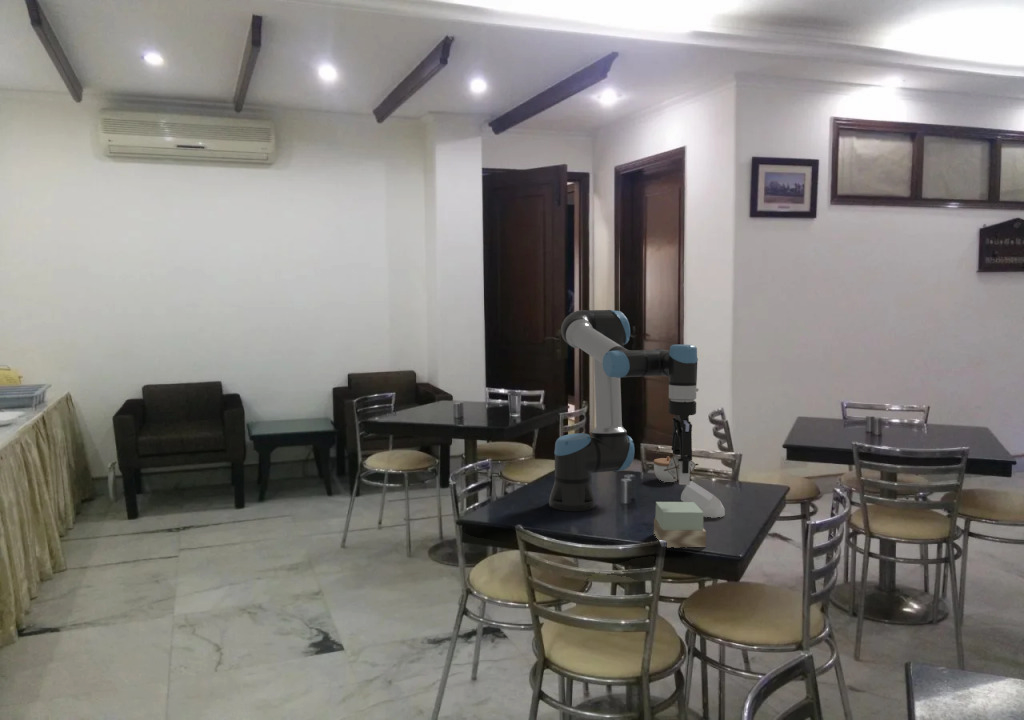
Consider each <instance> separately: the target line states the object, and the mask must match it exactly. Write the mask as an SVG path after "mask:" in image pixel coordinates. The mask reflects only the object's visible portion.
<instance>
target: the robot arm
mask: <svg viewBox="0 0 1024 720" xmlns="http://www.w3.org/2000/svg"><path fill="white" fill-rule="evenodd" d="M560 326H561V328H560V332H561V337H562V340H563V341H564V342H565V343H566V344H567V345H569V346H570V347H571V348H574V349H580V350H581V351H582V352H585V353H586V354H587V355H589V356H590V357H592V358H593V370H594V371H593V372H594V398H595V399H594V400H595V428H594V429H593V430H592V431H591V435H590V434H588V433H582V432H580V433H577V432H576V433H569V434H566V435H565V434H564V435H561V436H560V437H558V438H557V439H556V441H555V444H554V451H553V453H554V482H553V487H552V488H551V491H550V494H549V495H550V496H549V498H548V506H549V507H550V508H552V509H553V510H557V511H563V512H584V511H589V510H592V509H594V508H595V507H596V499H595V496H594V492H593V489H592V488H593V487H592V486H591V474H595V473H608V472H609V473H611V472H613V473H616V472H620V471H625V470H627V469H629V468H630V466H631V464H632V463H633V461H634V458H635V443H634V440H633V439H632V437H631V436H629V435H628V434H627V433H628V432H627V430H626V429H625V428H624V426H623V421H622V417H623V416H622V393H621V392H622V389H621V378H633V377H634V378H637V377H638V378H639V377H667V378H668V399H670V400H668V413H669V414H670V415H673V417H672V433H671V435H672V436H671V437H672V439H671V451H672V454H673V455H680V457H681V458H680V459H678V461H679V483H678V485H680V486H682V485H685V486H686V485H689V484H690V482H691V481H690V479H691V478H690V460H691V461H693V444H692V443H693V442H692V440H693V439H692V438H693V437H692V436H693V434H692V431H693V424H692V422H691V421H690V418H689V417H690V416H694V415H696V414H697V401H696V399H697V392H699V388H697V383H698V360H699V359H698V348H697V347H696V345H694V344H682V343H681V344H672V345H670V347H669V349H666V350H665V349H663V348H660V349H659V348H656V349H646V350H644V349H643V350H641V349H640V350H639V349H638V350H635V349H634V350H630V349H627V348H625V346H624V345H627V344H628V342H629V341H630V337H631V326H630V322H629V319H628V318H627V317H626V315H625V314H624V313H623V312H622V311H620V310H612V309H606V310H605V309H599V310H598V309H595V310H593V309H592V310H591V309H590V310H586V309H579V310H575V311H573V312H571V313H570V314H568V315H567V316H565V318H564V320H563V321H562V323H561V325H560ZM674 415H675V416H674ZM673 478H674V477H673Z"/></svg>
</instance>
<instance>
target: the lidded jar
mask: <svg viewBox="0 0 1024 720" xmlns="http://www.w3.org/2000/svg"><path fill="white" fill-rule="evenodd" d="M670 460H671V457H670V456H666V458H665V457H660V458H655V459H654V460H653V470H654V474H655V477H656V478H657V479H658V480H659V481H660V480H661V481H664V482H663V483H665V482H674V481H676V482H677V480H676V479H673V476H672V475H671V474H670V473H669V472H668V471H663V470H665V469H667V467H668V465H669V462H670ZM661 481H660V482H661ZM674 483H675V482H674Z"/></svg>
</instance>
